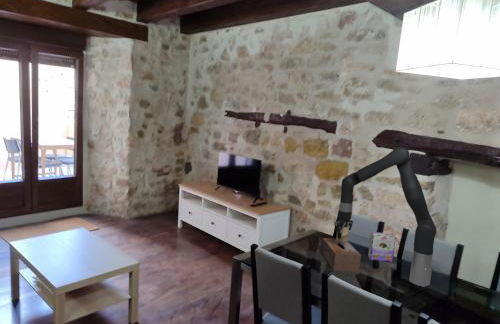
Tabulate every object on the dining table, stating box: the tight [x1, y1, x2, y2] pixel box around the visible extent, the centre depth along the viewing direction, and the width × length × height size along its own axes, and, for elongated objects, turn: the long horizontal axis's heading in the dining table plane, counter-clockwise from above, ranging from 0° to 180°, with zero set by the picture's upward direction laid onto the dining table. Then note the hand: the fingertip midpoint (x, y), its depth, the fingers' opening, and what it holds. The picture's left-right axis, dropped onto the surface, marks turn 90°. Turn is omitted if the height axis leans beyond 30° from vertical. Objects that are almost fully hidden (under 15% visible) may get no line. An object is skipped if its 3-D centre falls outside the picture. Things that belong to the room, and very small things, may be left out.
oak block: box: [335, 226, 350, 242], centre depth 208 cm, size 4×4×8 cm
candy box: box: [367, 231, 397, 263], centre depth 218 cm, size 14×6×16 cm, turn 84°
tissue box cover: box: [321, 237, 362, 273], centre depth 209 cm, size 26×14×10 cm, turn 3°
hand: (342, 237), depth 208 cm, fingers closed on oak block, 4 cm apart
